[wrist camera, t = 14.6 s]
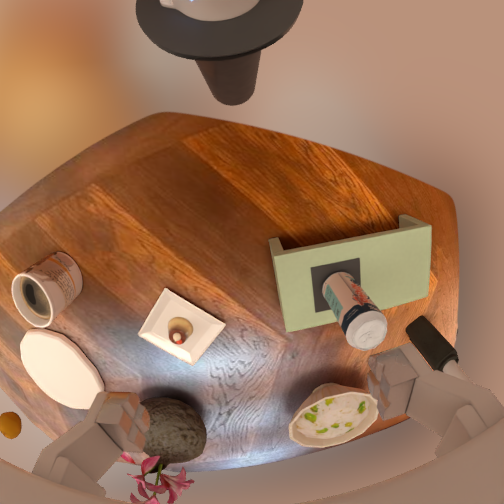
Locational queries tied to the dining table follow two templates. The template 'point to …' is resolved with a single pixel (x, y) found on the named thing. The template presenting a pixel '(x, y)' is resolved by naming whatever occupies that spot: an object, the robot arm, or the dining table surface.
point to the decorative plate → (60, 368)
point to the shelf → (353, 271)
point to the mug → (47, 288)
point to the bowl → (332, 416)
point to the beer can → (354, 311)
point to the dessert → (180, 328)
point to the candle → (435, 348)
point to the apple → (10, 424)
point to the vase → (168, 446)
